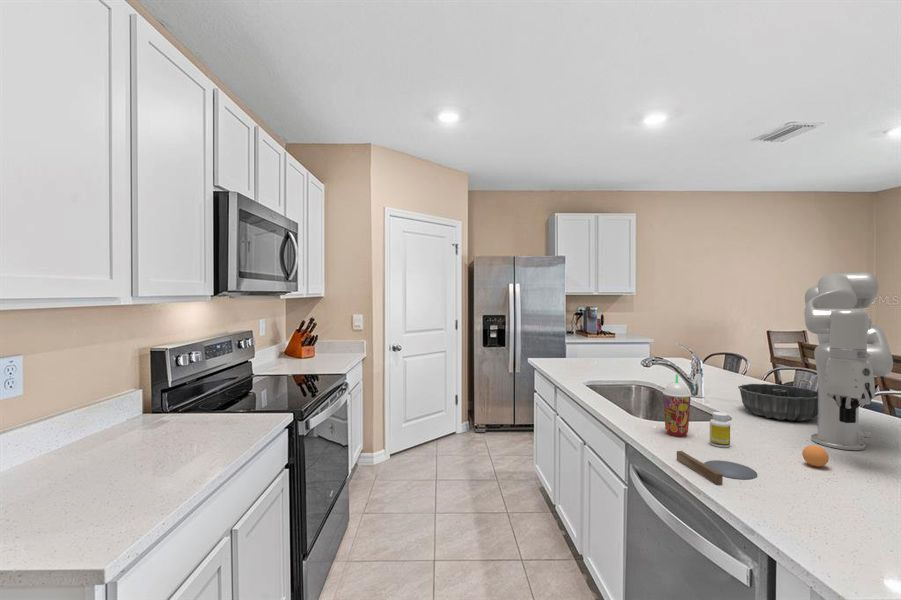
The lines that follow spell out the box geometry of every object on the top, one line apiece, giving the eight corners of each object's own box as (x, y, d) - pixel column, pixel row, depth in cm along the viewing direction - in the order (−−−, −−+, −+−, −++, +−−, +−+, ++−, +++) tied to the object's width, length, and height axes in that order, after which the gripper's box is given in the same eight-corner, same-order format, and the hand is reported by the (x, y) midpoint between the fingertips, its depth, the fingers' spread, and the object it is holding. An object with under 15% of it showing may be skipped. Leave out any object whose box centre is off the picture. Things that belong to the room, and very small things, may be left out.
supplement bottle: (733, 448, 130) (733, 416, 130) (713, 447, 131) (713, 415, 131) (725, 442, 136) (725, 411, 136) (706, 441, 137) (706, 410, 137)
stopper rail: (681, 459, 122) (681, 450, 122) (722, 484, 106) (722, 474, 106) (676, 459, 122) (676, 451, 122) (716, 484, 106) (716, 474, 106)
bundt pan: (722, 407, 177) (722, 383, 177) (780, 405, 180) (780, 381, 180) (777, 427, 151) (777, 399, 151) (844, 424, 154) (844, 396, 154)
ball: (814, 461, 120) (815, 442, 120) (834, 469, 115) (834, 449, 114) (796, 462, 119) (797, 442, 119) (815, 470, 114) (815, 449, 114)
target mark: (733, 460, 121) (733, 459, 121) (769, 478, 109) (769, 477, 109) (693, 462, 120) (693, 461, 120) (725, 480, 108) (725, 479, 108)
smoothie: (657, 430, 148) (657, 372, 147) (680, 429, 148) (680, 372, 148) (672, 438, 139) (672, 377, 139) (696, 437, 140) (696, 376, 140)
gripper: (890, 358, 110) (890, 430, 110) (833, 351, 125) (833, 414, 125) (864, 358, 110) (863, 430, 109) (809, 351, 124) (809, 415, 124)
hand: (847, 422), depth 117 cm, fingers closed
